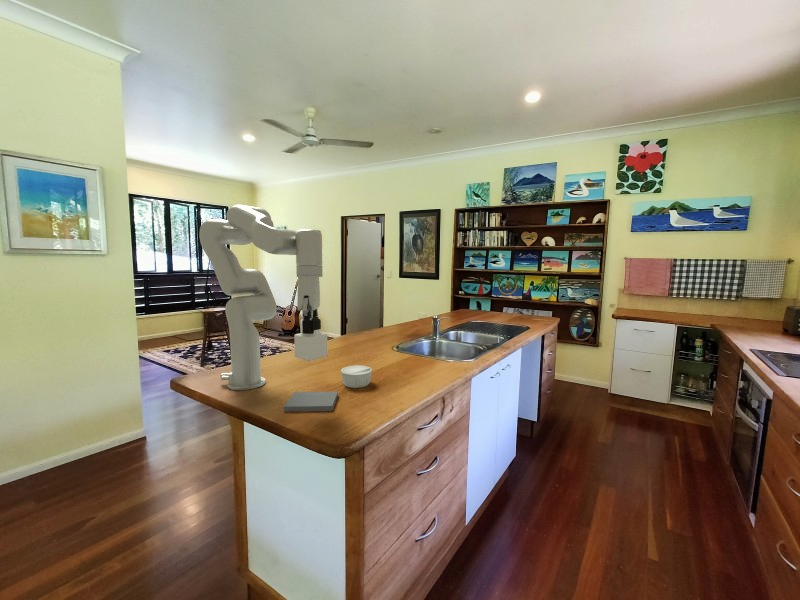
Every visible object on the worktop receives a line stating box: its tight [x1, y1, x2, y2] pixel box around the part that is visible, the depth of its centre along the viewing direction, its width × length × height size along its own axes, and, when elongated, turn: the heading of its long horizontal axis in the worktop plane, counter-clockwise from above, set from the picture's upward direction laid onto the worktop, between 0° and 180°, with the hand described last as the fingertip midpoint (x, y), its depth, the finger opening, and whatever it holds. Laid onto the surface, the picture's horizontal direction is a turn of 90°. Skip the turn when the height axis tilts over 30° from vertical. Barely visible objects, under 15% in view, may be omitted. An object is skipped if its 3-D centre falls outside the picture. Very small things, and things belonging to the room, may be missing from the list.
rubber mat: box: [283, 390, 339, 413], centre depth 110 cm, size 14×12×2 cm
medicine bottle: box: [293, 317, 329, 362], centre depth 108 cm, size 7×7×12 cm
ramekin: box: [340, 364, 373, 389], centre depth 128 cm, size 11×11×5 cm
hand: (310, 330), depth 108 cm, fingers closed on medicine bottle, 6 cm apart
